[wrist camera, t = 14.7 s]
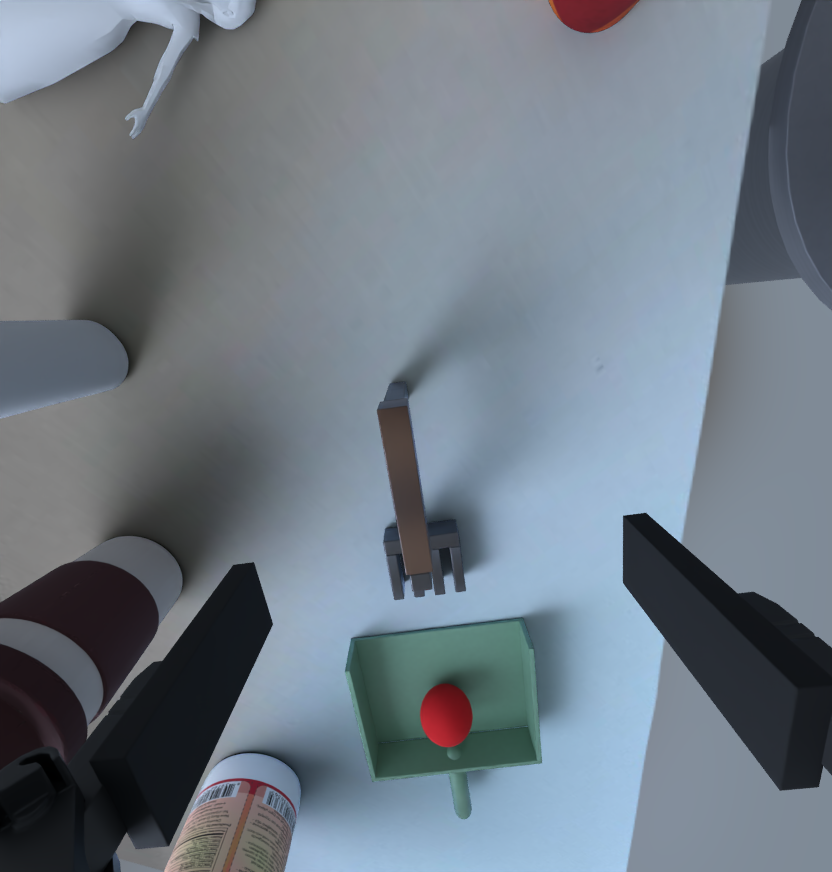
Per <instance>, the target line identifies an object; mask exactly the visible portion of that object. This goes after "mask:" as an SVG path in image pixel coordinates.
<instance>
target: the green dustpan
mask: <svg viewBox="0 0 832 872" xmlns="http://www.w3.org/2000/svg"><path fill="white" fill-rule="evenodd" d="M345 674H346V678H347V682H348V686H349V690H350V694H351V698H352V702H353V706H354V710H355V714H356V718H357V722H358V726H359V730H360V734H361V739H362V743H363V747H364V751H365V755H366V759H367V763H368V767H369V771H370V775H371V779H372V782H376V781H385V780H394V779H403V778H413V777H422V776H431V775H440V774H449V777H450V783H451V789H452V795H453V801H454V807H455V812H456V814H457V816H458V817H459V818H461V819H467V818H468V817H469V816H470V814H471V810H472V807H471V800H470V793H469V787H468V780H467V773H466V772H467V771H476V770H485V769H495V768H504V767H513V766H522V765H531V764H540V763H542V756H541V742H540V728H539V714H538V700H537V686H536V672H535V657H534V648H533V645H532V642H531V639H530V637H529V634H528V631H527V628H526V626H525V623H524V620H523V618H518V619H510V620H502V621H494V622H486V623H477V624H469V625H461V626H453V627H445V628H436V629H428V630H420V631H412V632H404V633H395V634H387V635H379V636H371V637H363V638H355V639H351V642H350V647H349V653H348V658H347V663H346V668H345ZM439 684H452V685H454V686H456V687H458V688H459V689H461V690H462V691H463V692H464V693H465V695H466V696H467V698H468V699H469V702H470V704H471V708H472V714H473V719H472V726H471V729H470V732H469V734H468V735H467V737H466V738H465V739H464V740H463V741H462V742H461V743H460V744H458V745H456V746H453V747H442V746H439V745H437V744H435V743H434V742H432V741H431V740H430V739H429V738H427V737H428V736H427V735H426V734H425V732H424V730H423V727H422V724H421V719H420V709H421V704H422V701H423V699H424V697H425V695H426V694H427V692H428V691H429V690H430V689H431V688H433V687H434V686H436V685H439ZM524 726H528V727H524ZM515 727H519V728H515ZM506 728H510V729H506ZM497 729H502V730H497ZM489 730H493V731H489ZM480 731H484V732H480ZM471 732H475V733H471ZM418 738H422V739H418ZM409 739H413V740H409ZM400 740H404V741H400ZM391 741H395V742H391ZM382 742H387V743H382Z"/></svg>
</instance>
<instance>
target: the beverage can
mask: <svg viewBox="0 0 832 872" xmlns="http://www.w3.org/2000/svg"><path fill="white" fill-rule="evenodd" d="M127 372H128V357H127V353H126V351H125V349H124V347H123V345H122V344H121V342H120V341H119V340H118V338H117V337H116V336H115V335H114V334H113V333H112V332H111V331H110V330H109V329H107V328H105V327H104V326H102V325H101V324H99V323H96V322H93V321H90V320H40V321H0V418H4V417H7V416H11V415H15V414H19V413H23V412H26V411H30V410H34V409H38V408H41V407H45V406H49V405H53V404H57V403H61V402H65V401H69V400H73V399H77V398H81V397H85V396H89V395H93V394H97V393H101V392H105V391H109V390H112V389H114V388H116V387H118V386H119V385H120V384H121V383H122V382H123V381H124V379H125V377H126V375H127Z"/></svg>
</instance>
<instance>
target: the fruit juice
mask: <svg viewBox="0 0 832 872" xmlns="http://www.w3.org/2000/svg"><path fill="white" fill-rule="evenodd" d="M300 798H301V787H300V782H299V779H298V777H297V776H296V774H295V773H294V771H293V770H292V769H291V768H290V767H289V766H287V765H286V764H285V763H283V762H282V761H280V760H278V759H276V758H273V757H270V756H267V755H263V754H256V753H245V754H238V755H234V756H231V757H228V758H226V759H224V760H222V761H221V762H219V763H218V764H217V765H216V766H215V767H214V768H213V769H212V771H211V772H210V773H209V775H208V776H207V778H206V780H205V782H204V783H203V785H202V788H201V790H200V792H199V794H198V797H197V799H196V801H195V803H194V806H193V808H192V810H191V812H190V814H189V817H188V819H187V821H186V823H185V826H184V828H183V830H182V832H181V835H180V837H179V839H178V841H177V844H176V846H175V848H174V850H173V852H172V855H171V857H170V859H169V861H168V864H167V866H166V868H165V870H164V872H284V871H285V866H286V862H287V858H288V853H289V849H290V845H291V840H292V836H293V832H294V827H295V823H296V819H297V814H298V810H299V805H300Z"/></svg>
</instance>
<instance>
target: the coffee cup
mask: <svg viewBox="0 0 832 872" xmlns="http://www.w3.org/2000/svg"><path fill="white" fill-rule="evenodd" d="M182 583H183V578H182V573H181V570H180V567H179V565H178V563H177V561H176V560H175V558H174V557H173V556H172V555H171V554H170V553H169V552H168V551H167V550H166V549H165V548H164V547H162V546H161V545H159V544H157V543H155V542H153V541H151V540H148V539H146V538H141V537H136V536H122V537H116V538H113V539H110V540H108V541H105V542H103V543H102V544H100V545H99V546H97V547H95V548H94V549H92V550H91V551H89V552H87V553H86V554H84V555H83V556H81V557H79V558H78V559H76V560H75V561H73V562H71V563H67V564H64V565H62V566H60V567H58V568H56V569H54V570H53V571H51V572H49V573H48V574H46V575H45V576H43V577H41V578H40V579H38V580H36V581H35V582H33V583H32V584H30V585H28V586H27V587H25V588H23V589H22V590H20V591H19V592H17V593H15V594H14V595H12V596H11V597H9V598H7V599H6V600H4V601H2V602H1V603H0V770H1V769H3V768H4V767H5V766H7V765H8V764H10V763H11V762H13V761H14V760H16V759H17V758H19V757H20V756H22V755H24V754H26V753H28V752H30V751H33V750H35V749H37V748H42V747H47V746H50V747H54V748H57V749H58V751H59V753H60V754H61V756H62V758H63V760H64V762H65V763H66V765H68V763H69V762H70V761H71V759H72V758H73V757H74V756H75V754H76V753H77V752H78V750H79V749H80V748H81V747H82V745H83V744H84V743H85V741H86V739H87V726H88V725H89V724H90V723H91V722H93V721H94V720H95V719H96V718H97V717H98V716H99V715H100V714H101V713H102V711H103V710H104V709H105V707H106V706H107V704H108V703H109V701H110V700H111V699H112V697H113V696H114V694H115V693H116V691H117V690H118V689H119V687H120V686H121V684H122V683H123V681H124V680H125V678H126V677H127V676H128V674H129V673H130V671H131V670H132V668H133V667H134V666H135V664H136V663H137V661H138V660H139V658H140V657H141V655H142V654H143V653H144V651H145V650H146V648H147V647H148V645H149V644H150V642H151V641H152V639H153V638H154V636H155V634H156V632H157V629H158V626H159V624H160V623H161V622H162V620H163V619H164V617H165V616H166V615H167V613H168V612H169V610H170V609H171V608H172V606H173V605H174V603H175V602H176V600H177V599H178V597H179V595H180V593H181V589H182Z"/></svg>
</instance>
